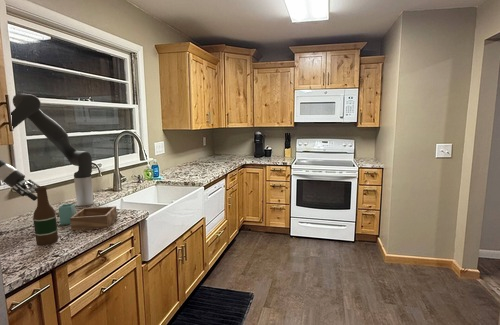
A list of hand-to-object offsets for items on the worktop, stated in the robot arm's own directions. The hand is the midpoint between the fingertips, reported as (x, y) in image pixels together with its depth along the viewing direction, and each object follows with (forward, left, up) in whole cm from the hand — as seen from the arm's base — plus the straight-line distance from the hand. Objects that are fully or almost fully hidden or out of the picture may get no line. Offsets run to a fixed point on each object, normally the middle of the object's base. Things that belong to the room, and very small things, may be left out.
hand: (40, 197), depth 142 cm
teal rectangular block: (-1, +11, -14) cm, 18 cm away
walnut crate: (+3, +25, -14) cm, 29 cm away
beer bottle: (+24, +13, -14) cm, 31 cm away
